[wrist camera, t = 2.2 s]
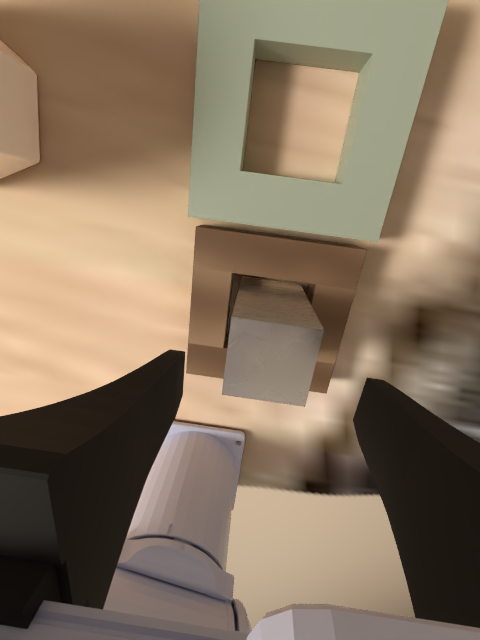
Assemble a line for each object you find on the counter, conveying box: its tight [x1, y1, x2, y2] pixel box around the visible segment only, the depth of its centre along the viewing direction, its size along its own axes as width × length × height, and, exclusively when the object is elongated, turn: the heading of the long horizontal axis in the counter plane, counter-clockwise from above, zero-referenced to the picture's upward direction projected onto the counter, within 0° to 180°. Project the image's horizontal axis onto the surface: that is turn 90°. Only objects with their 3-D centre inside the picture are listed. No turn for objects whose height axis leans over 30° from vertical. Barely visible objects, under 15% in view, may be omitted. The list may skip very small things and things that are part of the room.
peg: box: [222, 276, 324, 407], centre depth 17 cm, size 4×4×8 cm
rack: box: [188, 0, 448, 242], centre depth 16 cm, size 11×11×2 cm
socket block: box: [186, 225, 367, 393], centre depth 20 cm, size 10×10×2 cm
